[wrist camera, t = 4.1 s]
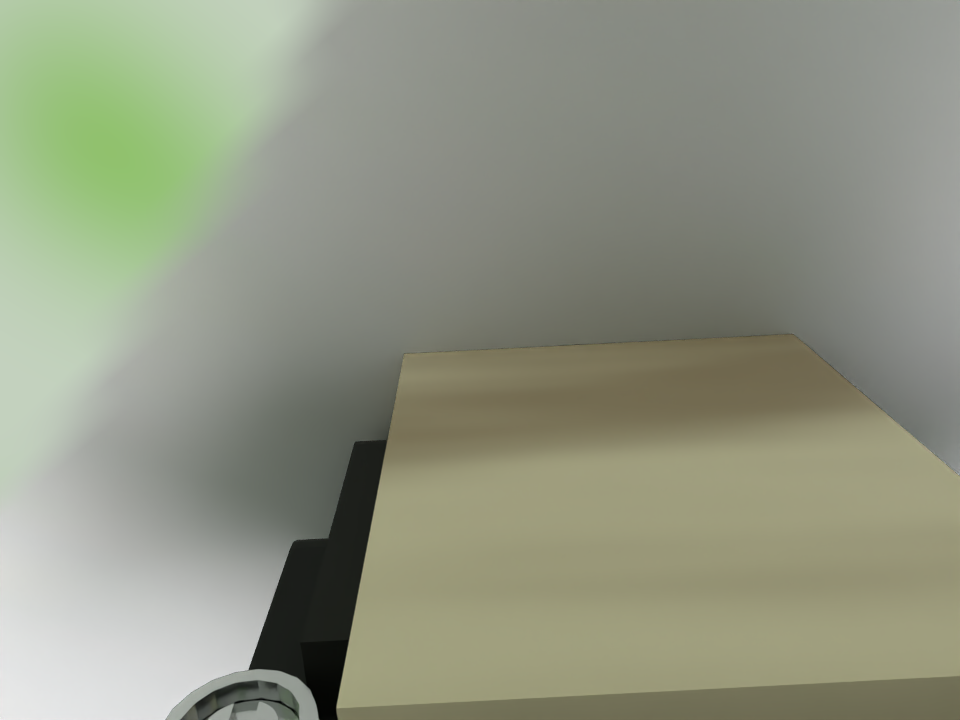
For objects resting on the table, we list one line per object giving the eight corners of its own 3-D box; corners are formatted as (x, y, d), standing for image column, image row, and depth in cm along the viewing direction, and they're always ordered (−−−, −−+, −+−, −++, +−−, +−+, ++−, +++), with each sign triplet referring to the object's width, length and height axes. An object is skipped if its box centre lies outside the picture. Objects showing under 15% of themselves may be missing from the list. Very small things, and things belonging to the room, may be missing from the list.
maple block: (404, 353, 10) (335, 709, 5) (793, 334, 10) (1181, 664, 5) (430, 665, 12) (403, 1189, 7) (762, 647, 12) (1019, 1155, 7)
